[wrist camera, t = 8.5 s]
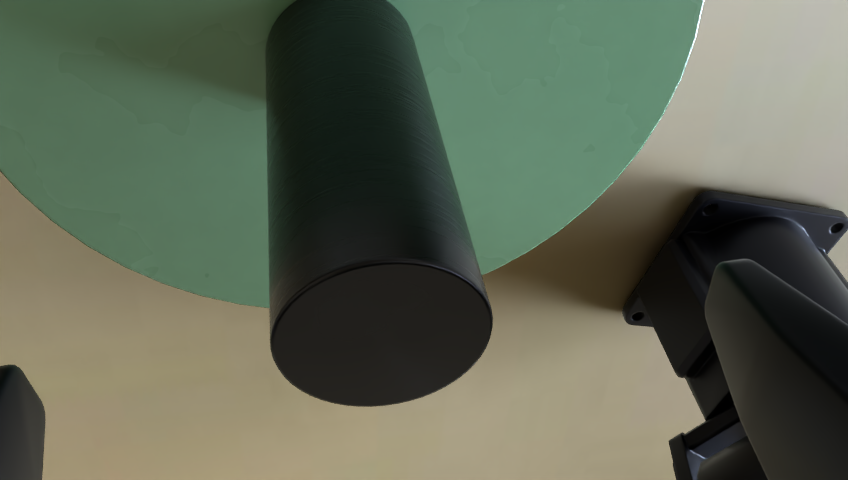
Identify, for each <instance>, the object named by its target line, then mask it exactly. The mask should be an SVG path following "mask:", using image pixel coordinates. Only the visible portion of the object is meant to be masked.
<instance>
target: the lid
mask: <svg viewBox="0 0 848 480" xmlns="http://www.w3.org/2000/svg"><path fill="white" fill-rule="evenodd" d="M703 4H704V0H0V171H1V172H2V173H3V174H4V176H5V177H6V178H7V179H8V180H9V181H10V182H11V183H12V184H13V186H14V187H15V188H16V189H17V190H18V191H19V192H20V193H21V194H22V195H23V196H24V197H25V198H27V199H28V200H29V201H30V202H31V203H32V204H33V205H34V206H36V207H37V208H38V209H39V210H40V211H41V212H42V213H44V214H45V215H46V216H47V217H48V218H49V219H50V220H52V221H53V222H54V223H55V224H57V225H58V226H60V227H61V228H63V229H64V230H65V231H67V232H68V233H70V234H71V235H72V236H74V237H75V238H77V239H78V240H80V241H81V242H82V243H84V244H85V245H87V246H88V247H90V248H92V249H93V250H95V251H97V252H99V253H101V254H102V255H104V256H106V257H108V258H110V259H111V260H113V261H115V262H117V263H119V264H120V265H122V266H124V267H126V268H128V269H131V270H133V271H135V272H137V273H140V274H142V275H144V276H147V277H149V278H151V279H154V280H156V281H158V282H161V283H163V284H166V285H169V286H172V287H175V288H178V289H182V290H185V291H188V292H191V293H194V294H197V295H200V296H204V297H209V298H213V299H218V300H222V301H227V302H231V303H236V304H241V305H249V306H257V307H264V308H270V347H271V352H272V356H273V359H274V361H275V363H276V365H277V367H278V369H279V370H280V372H281V373H282V374H283V376H284V377H285V378H286V379H287V380H288V381H289V382H290V383H291V384H292V385H294V386H295V387H297V388H298V389H299V390H301V391H303V392H305V393H307V394H308V395H310V396H313V397H315V398H318V399H320V400H324V401H327V402H331V403H335V404H341V405H347V406H358V407H373V406H386V405H392V404H398V403H403V402H407V401H411V400H414V399H418V398H421V397H424V396H426V395H429V394H431V393H434V392H436V391H438V390H440V389H442V388H444V387H446V386H447V385H449V384H451V383H452V382H454V381H455V380H457V379H458V378H460V377H461V376H462V375H463V374H465V373H466V372H467V371H468V370H469V369H470V368H471V367H472V366H473V365H474V364H475V363H476V362H477V360H478V359H479V358H480V357H481V355H482V353H483V352H484V350H485V349H486V346H487V344H488V342H489V339H490V335H491V331H492V323H493V317H492V311H491V306H490V303H489V299H488V296H487V292H486V289H485V285H484V282H483V278H482V275H484V274H486V273H488V272H491V271H493V270H495V269H497V268H499V267H501V266H503V265H505V264H506V263H508V262H510V261H512V260H514V259H516V258H518V257H519V256H521V255H523V254H525V253H527V252H529V251H530V250H532V249H533V248H535V247H536V246H538V245H539V244H541V243H542V242H544V241H545V240H547V239H548V238H550V237H551V236H553V235H554V234H556V233H557V232H559V231H560V230H561V229H562V228H564V227H565V226H566V225H567V224H569V223H570V222H571V221H572V220H573V219H575V218H576V217H577V216H578V215H580V214H581V213H582V212H583V211H584V210H586V209H587V208H588V207H589V206H590V205H591V204H592V203H593V202H594V201H595V200H596V199H597V198H598V197H599V196H600V195H601V194H602V193H603V192H604V191H605V190H606V189H607V188H608V187H609V186H610V185H611V184H612V183H613V182H614V181H615V180H616V179H617V178H618V177H619V176H620V174H621V173H622V172H623V171H624V169H625V168H626V167H627V166H628V165H629V163H630V162H631V161H632V160H633V158H634V157H635V156H636V155H637V153H638V152H639V151H640V150H641V149H642V147H643V145H644V144H645V142H646V141H647V139H648V138H649V136H650V135H651V133H652V132H653V130H654V128H655V127H656V125H657V124H658V122H659V121H660V119H661V118H662V116H663V114H664V112H665V110H666V108H667V106H668V104H669V102H670V100H671V98H672V96H673V94H674V92H675V90H676V88H677V86H678V84H679V82H680V80H681V78H682V76H683V73H684V70H685V67H686V64H687V62H688V59H689V56H690V53H691V50H692V48H693V45H694V42H695V39H696V36H697V31H698V27H699V22H700V18H701V13H702V9H703Z"/></svg>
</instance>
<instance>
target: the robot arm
mask: <svg viewBox="0 0 848 480" xmlns="http://www.w3.org/2000/svg"><path fill="white" fill-rule="evenodd" d="M707 205H709V206H707ZM706 206H707V207H706ZM847 230H848V218H847V216H846V215H845V214H844V213H843V212H842V211H839V210H832V209H826V208H819V207H813V206H807V205H800V204H794V203H787V202H781V201H775V200H768V199H762V198H755V197H749V196H743V195H736V194H730V193H723V192H717V191H706V192H703V193H701V194H700V195H698V196H697V197H696V198H695V199H694V200H693V202H692V203H691V205H690V206H689V208H688V209H687V211H686V212H685V214H684V216H683V217H682V219H681V220H680V222H679V223H678V225H677V226H676V228H675V229H674V231H673V232H672V234H671V235H670V237H669V238H668V240H667V242H666V243H665V245H664V246H663V248H662V249H661V251H660V252H659V254H658V255H657V257H656V258H655V260H654V261H653V263H652V264H651V266H650V268H649V269H648V271H647V272H646V274H645V275H644V277H643V278H642V280H641V281H640V283H639V284H638V286H637V287H636V289H635V290H634V292H633V294H632V295H631V297H630V298H629V300H628V301H627V303H626V304H625V306H624V307H623V310H622V314H623V316H624V319H625V321H626V322H627V323H628V324H630V325H638V326H649V327H654V329H655V331H656V333H657V335H658V337H659V340H660V342H661V344H662V346H663V348H664V350H665V352H666V354H667V356H668V359H669V361H670V363H671V365H672V367H673V369H674V371H675V373H676V375H677V376H678V377H681V378H685V379H686V381H687V383H688V385H689V387H690V389H691V391H692V393H693V395H694V397H695V399H696V401H697V403H698V406H699V408H700V410H701V412H702V414H703V416H704V418H705V420H706V421H705V422H704V423H702V424H701V425H699V426H697V427H696V428H694V429H692V430H691V431H689V432H687V433H686V434H684V433H680V434H679V435H677V436H676V437H674V438H672V439H671V440H669V446H670V450H671V454H672V459H673V468H674V472H675V476H676V480H848V282H847V281H846V279H845V278H844V277H843V275H842V274H841V273H840V271H839V270H838V269H837V267H836V266H835V265H834V263H833V262H832V261H831V259H830V258H829V257H828V255H827V254H828V252H829V251H830V250H831V249H832V248H833V246H834V245H835V244H836V243H837V242H838V240H839V239H840V238H841V237H842V236H843V234H844V233H845V232H846V231H847ZM44 436H45V411H44V406H43V404H42V401H41V399H40V398H39V396H38V395H37V393H36V392H35V390H34V389H33V387H32V385H31V384H30V382H29V381H28V379H27V378H26V376H25V375H24V373H23V371H22V370H21V369H20V368H19V367H17V366H16V365H4V366H0V480H42V471H43V454H44Z"/></svg>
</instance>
